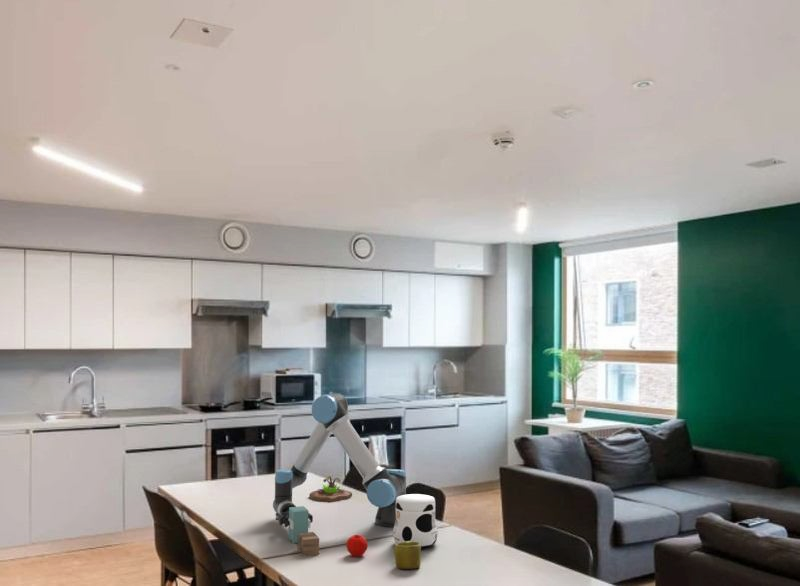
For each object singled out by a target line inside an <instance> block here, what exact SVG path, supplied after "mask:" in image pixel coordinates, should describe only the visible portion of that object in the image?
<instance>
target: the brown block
mask: <svg viewBox="0 0 800 586" xmlns="http://www.w3.org/2000/svg"><path fill="white" fill-rule="evenodd" d="M297 551H298V552H299V553H300V554H301V555H302V556H303V557H309V556H316V555H317V556H318V555H320V537H319V536H318V535H317V534H316V532H314V531H308V532H307V533H298V543H297Z"/></svg>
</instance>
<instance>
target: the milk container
mask: <svg viewBox="0 0 800 586" xmlns="http://www.w3.org/2000/svg"><path fill="white" fill-rule="evenodd" d="M392 532H393V534H392V536H393V540H394V542H395V544H396V543H399V542H406V541H410V542H418V543H420V545H421V549H424V548H428V547H432V546H433V545H435V544H436V542H437V539H438V534H439V533H438V527H437V524H436V499H435V497H434V496H431V495H428V494H421V493H410V494H407V493H406V495H401V496H398V497H397V498H396V521H395V525H394V527H393V530H392Z"/></svg>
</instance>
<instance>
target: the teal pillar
mask: <svg viewBox="0 0 800 586" xmlns="http://www.w3.org/2000/svg"><path fill="white" fill-rule="evenodd" d="M308 513H309V510H308V509H307V507H306V506H303V505H302V506H296V507H289V518H290V519H291V520H292V521H293V522H294V529H291V528H290V527H289V526H288V539H289V540H290V541H291V542H292V544H298V533H307V532H309V528H308Z"/></svg>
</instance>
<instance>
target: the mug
mask: <svg viewBox="0 0 800 586" xmlns="http://www.w3.org/2000/svg"><path fill="white" fill-rule="evenodd" d="M393 548H394V550H393V551H394V559H395V566H396V567H397V569H399V570H413V569H419V568H420V567H421V552H422V551H421V549H422V548H421V545H420V543H418V542H410V541H406V542H399V543H396V542H395V543H394V547H393Z"/></svg>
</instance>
